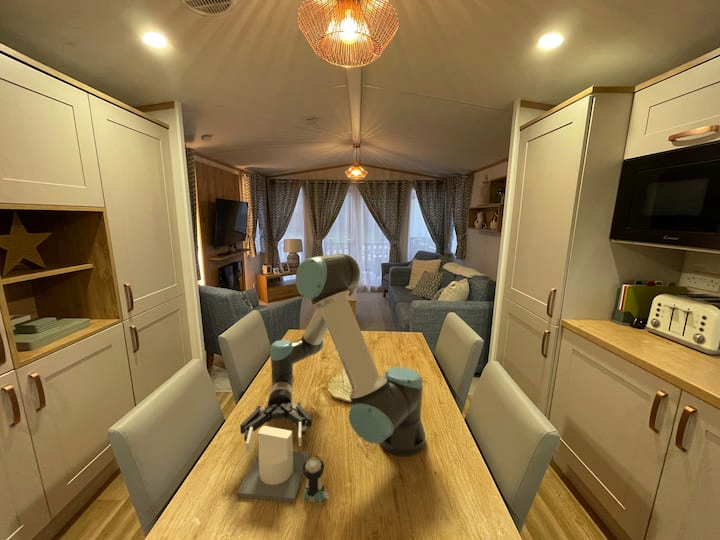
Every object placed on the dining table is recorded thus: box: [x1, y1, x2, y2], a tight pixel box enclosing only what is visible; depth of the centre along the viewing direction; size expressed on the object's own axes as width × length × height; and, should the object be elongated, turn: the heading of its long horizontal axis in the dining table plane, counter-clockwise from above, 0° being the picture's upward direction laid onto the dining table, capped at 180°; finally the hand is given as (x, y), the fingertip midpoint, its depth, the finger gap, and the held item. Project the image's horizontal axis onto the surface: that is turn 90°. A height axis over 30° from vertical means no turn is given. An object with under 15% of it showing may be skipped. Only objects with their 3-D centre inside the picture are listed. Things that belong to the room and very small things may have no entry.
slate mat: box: [236, 450, 311, 503], centre depth 84 cm, size 15×15×1 cm
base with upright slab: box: [257, 425, 294, 485], centre depth 83 cm, size 9×9×12 cm
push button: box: [303, 457, 331, 503], centre depth 77 cm, size 7×5×10 cm
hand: (274, 444), depth 82 cm, fingers open, 13 cm apart
